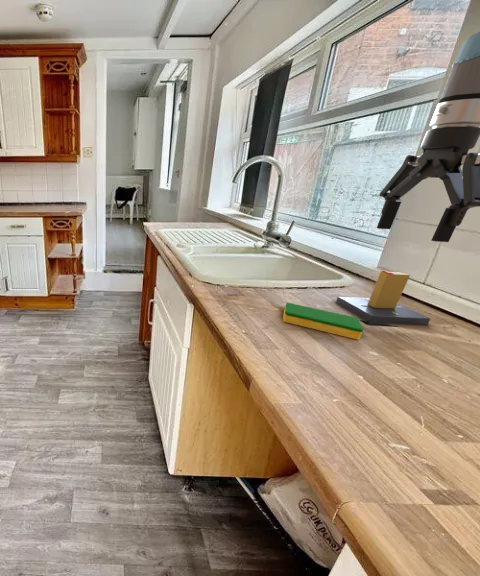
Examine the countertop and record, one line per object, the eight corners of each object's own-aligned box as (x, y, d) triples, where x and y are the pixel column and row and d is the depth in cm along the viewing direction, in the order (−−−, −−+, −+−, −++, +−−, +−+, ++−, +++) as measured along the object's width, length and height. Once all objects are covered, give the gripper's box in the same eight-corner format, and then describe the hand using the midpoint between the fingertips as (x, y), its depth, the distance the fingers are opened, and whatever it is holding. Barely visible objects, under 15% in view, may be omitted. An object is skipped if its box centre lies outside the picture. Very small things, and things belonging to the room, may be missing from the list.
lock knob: (388, 305, 74) (402, 271, 71) (395, 308, 72) (410, 274, 69) (367, 304, 74) (380, 270, 71) (374, 307, 73) (388, 273, 69)
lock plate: (384, 307, 79) (388, 298, 78) (426, 328, 69) (431, 317, 68) (334, 305, 80) (337, 295, 79) (368, 325, 69) (372, 315, 68)
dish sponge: (283, 310, 75) (286, 301, 74) (354, 327, 68) (358, 317, 68) (282, 321, 69) (285, 312, 68) (359, 340, 63) (363, 330, 62)
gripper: (382, 133, 72) (350, 223, 80) (513, 117, 49) (450, 247, 56) (414, 134, 72) (379, 225, 80) (561, 119, 49) (491, 249, 56)
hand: (408, 234), depth 68 cm, fingers open, 13 cm apart
